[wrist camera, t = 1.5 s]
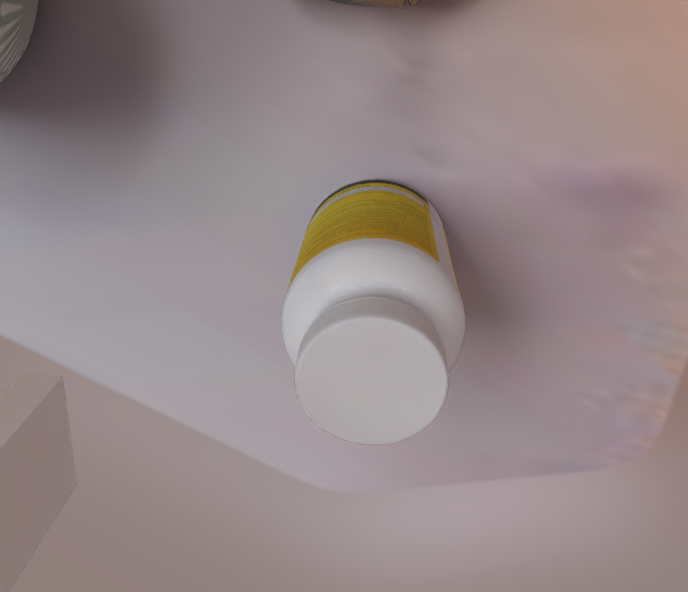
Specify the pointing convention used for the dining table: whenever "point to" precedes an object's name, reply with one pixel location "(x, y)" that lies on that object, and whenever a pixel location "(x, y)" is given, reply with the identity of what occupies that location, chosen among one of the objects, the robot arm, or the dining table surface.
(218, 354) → the dining table surface
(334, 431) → the pill bottle
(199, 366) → the dining table surface
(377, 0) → the holder
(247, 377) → the dining table surface
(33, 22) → the planter
